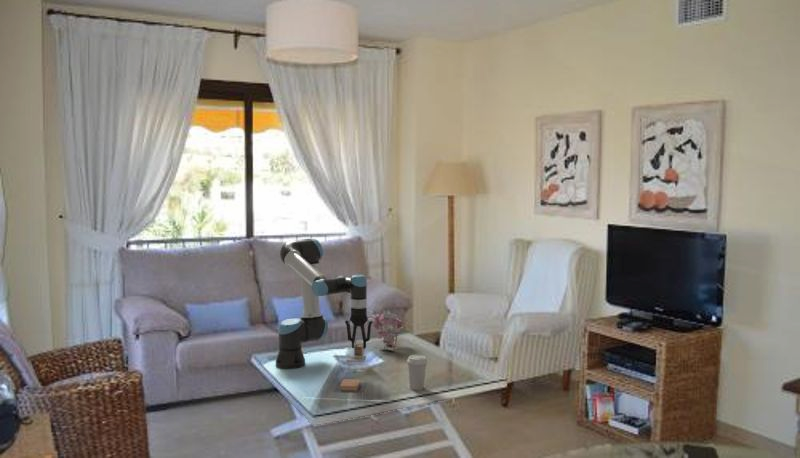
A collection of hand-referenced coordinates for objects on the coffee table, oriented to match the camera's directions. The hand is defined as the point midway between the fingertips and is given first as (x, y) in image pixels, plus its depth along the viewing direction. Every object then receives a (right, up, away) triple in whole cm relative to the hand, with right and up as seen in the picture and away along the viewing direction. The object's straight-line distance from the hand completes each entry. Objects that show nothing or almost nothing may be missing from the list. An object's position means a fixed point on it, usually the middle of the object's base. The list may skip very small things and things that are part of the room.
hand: (359, 354), depth 324 cm
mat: (-3, -14, -9) cm, 17 cm away
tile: (-3, -12, -5) cm, 13 cm away
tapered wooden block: (0, -1, -3) cm, 3 cm away
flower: (+13, -7, +58) cm, 60 cm away
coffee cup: (+28, -14, -8) cm, 32 cm away
